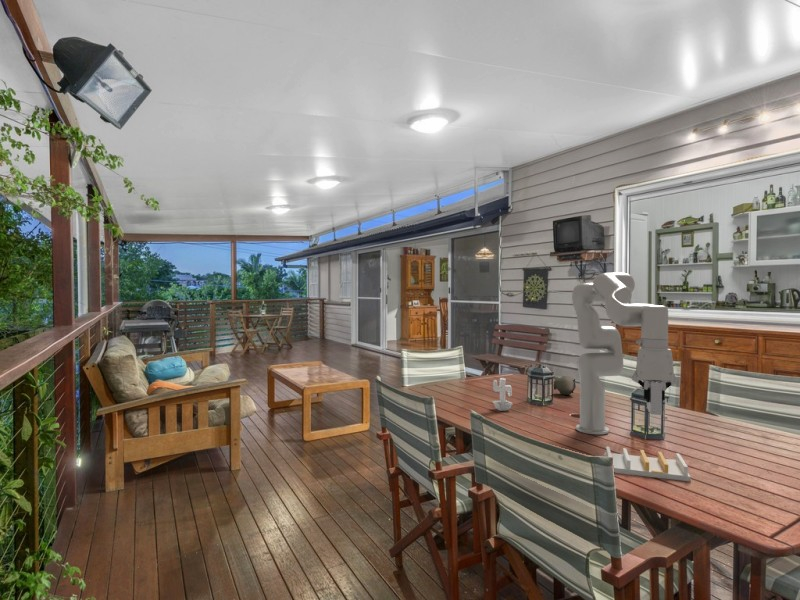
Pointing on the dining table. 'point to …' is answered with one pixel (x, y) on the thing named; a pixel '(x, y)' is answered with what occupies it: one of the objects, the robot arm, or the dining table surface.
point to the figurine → (502, 395)
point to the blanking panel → (655, 398)
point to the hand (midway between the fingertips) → (654, 401)
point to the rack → (649, 465)
